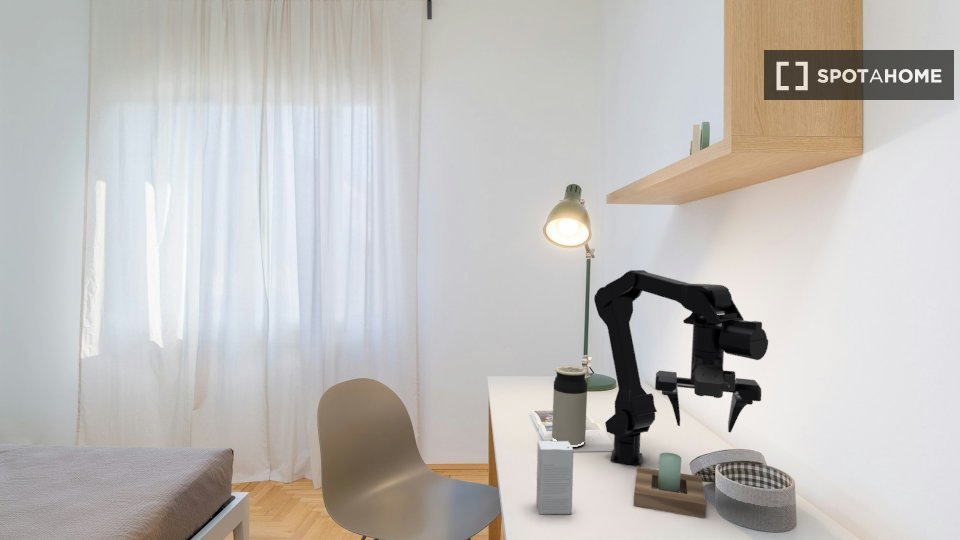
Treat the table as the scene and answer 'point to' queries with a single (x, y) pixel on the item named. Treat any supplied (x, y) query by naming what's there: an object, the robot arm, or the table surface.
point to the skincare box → (554, 477)
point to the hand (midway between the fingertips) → (703, 428)
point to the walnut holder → (670, 494)
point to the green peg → (669, 472)
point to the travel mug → (569, 405)
